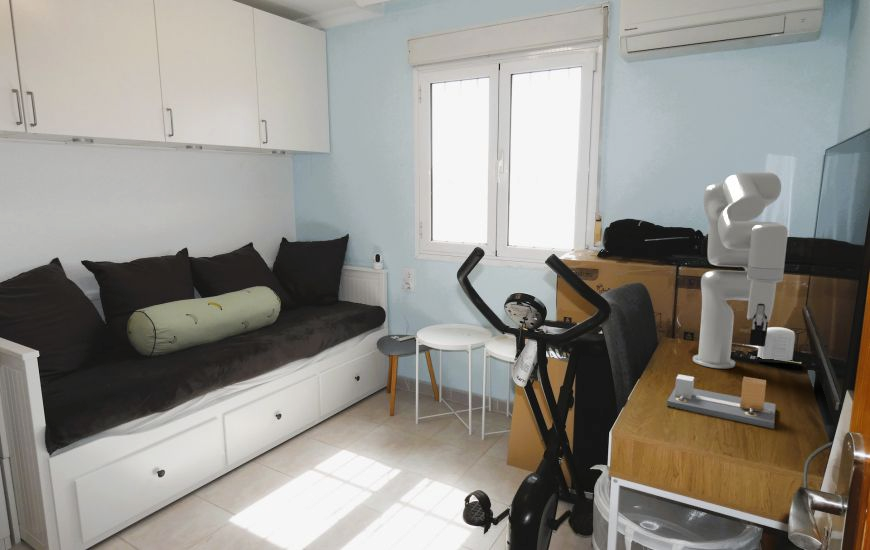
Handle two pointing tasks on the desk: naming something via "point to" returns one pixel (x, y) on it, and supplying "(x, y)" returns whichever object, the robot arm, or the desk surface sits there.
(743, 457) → the desk surface
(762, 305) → the robot arm
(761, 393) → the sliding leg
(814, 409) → the desk surface
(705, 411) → the slide rail plate
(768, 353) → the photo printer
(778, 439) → the desk surface
